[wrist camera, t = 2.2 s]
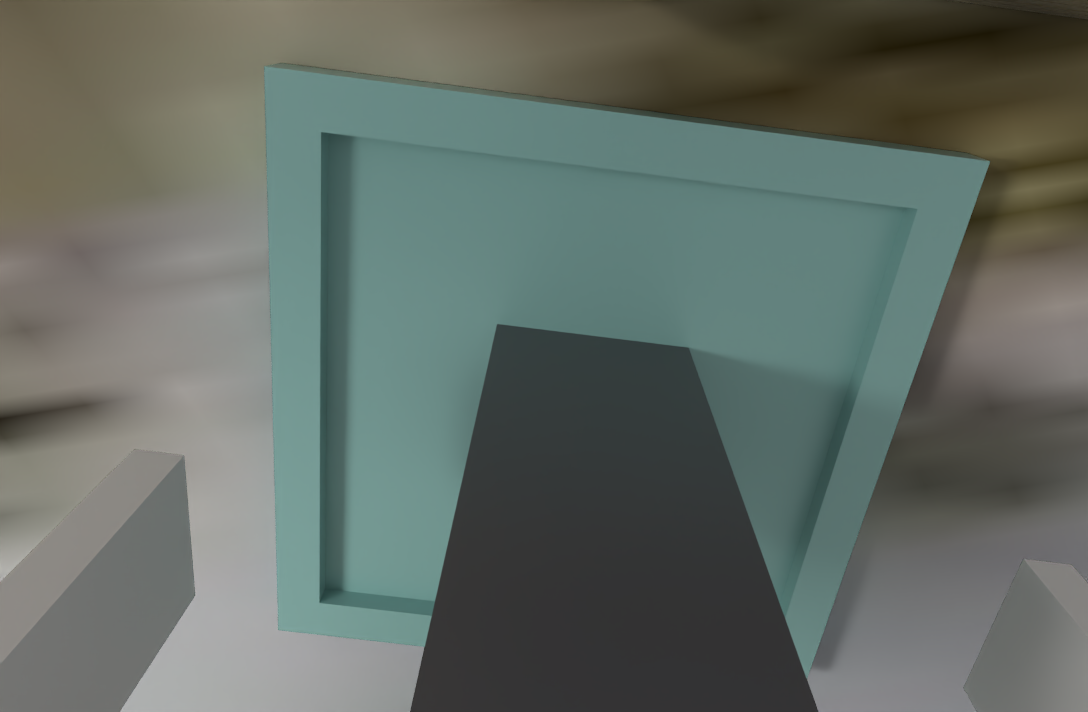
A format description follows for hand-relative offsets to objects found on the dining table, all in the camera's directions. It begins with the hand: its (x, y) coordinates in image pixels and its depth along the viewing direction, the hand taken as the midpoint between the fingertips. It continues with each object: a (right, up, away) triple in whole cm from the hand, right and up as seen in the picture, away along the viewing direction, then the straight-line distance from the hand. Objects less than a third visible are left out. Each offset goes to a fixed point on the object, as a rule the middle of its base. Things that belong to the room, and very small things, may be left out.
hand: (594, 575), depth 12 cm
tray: (0, +2, +5) cm, 5 cm away
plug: (0, +2, +4) cm, 5 cm away
